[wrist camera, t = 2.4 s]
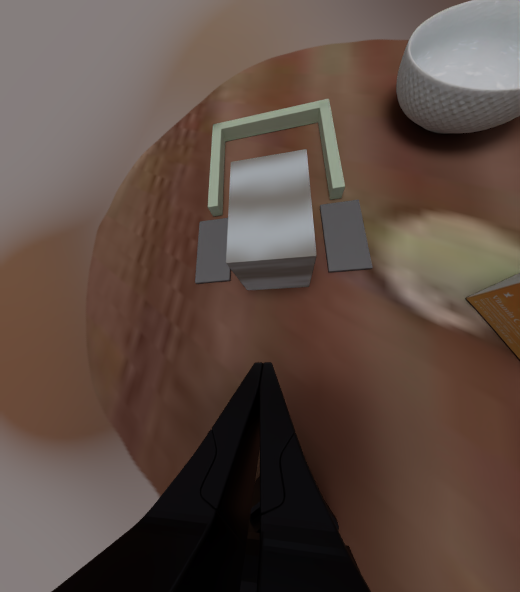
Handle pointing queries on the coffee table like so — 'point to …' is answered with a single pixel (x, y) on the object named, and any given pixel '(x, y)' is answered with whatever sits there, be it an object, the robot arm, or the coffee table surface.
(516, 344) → the small box
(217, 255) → the green u-shaped guide frame
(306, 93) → the coffee table surface
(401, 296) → the coffee table surface
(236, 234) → the block
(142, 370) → the coffee table surface
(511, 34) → the cereal bowl
